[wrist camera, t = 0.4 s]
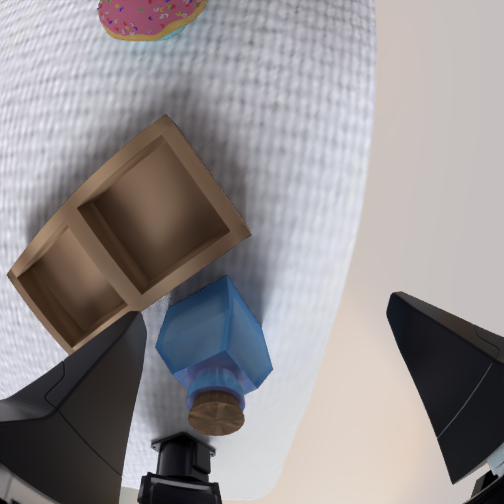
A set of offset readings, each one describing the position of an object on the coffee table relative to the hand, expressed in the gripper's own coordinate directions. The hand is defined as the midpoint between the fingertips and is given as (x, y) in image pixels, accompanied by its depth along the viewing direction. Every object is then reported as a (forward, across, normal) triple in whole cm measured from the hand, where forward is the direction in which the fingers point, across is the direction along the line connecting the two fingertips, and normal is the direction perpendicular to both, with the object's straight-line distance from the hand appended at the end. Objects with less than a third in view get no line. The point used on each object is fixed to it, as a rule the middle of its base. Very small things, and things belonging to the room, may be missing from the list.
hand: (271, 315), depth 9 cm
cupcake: (+17, +7, -17) cm, 25 cm away
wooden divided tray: (+14, +11, +2) cm, 18 cm away
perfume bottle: (+13, +3, +10) cm, 17 cm away
